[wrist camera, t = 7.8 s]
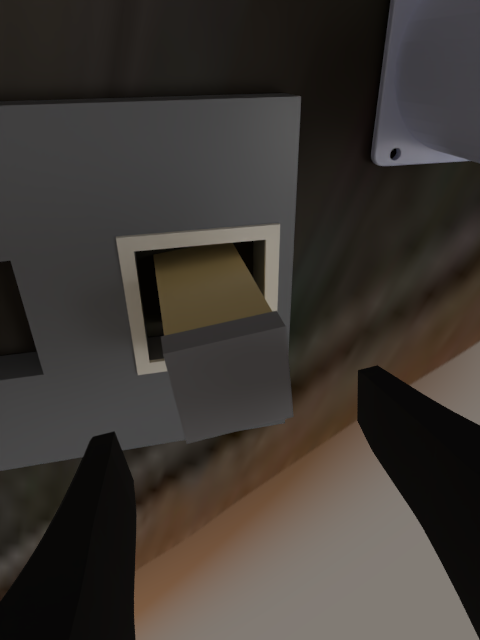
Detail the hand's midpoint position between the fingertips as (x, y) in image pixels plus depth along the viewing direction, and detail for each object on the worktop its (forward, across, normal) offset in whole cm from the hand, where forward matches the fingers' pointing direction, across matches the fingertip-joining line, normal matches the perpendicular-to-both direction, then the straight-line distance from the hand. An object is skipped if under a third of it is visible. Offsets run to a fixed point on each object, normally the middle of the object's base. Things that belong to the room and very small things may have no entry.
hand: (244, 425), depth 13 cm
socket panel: (+10, +5, -1) cm, 11 cm away
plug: (+10, 0, 0) cm, 10 cm away
